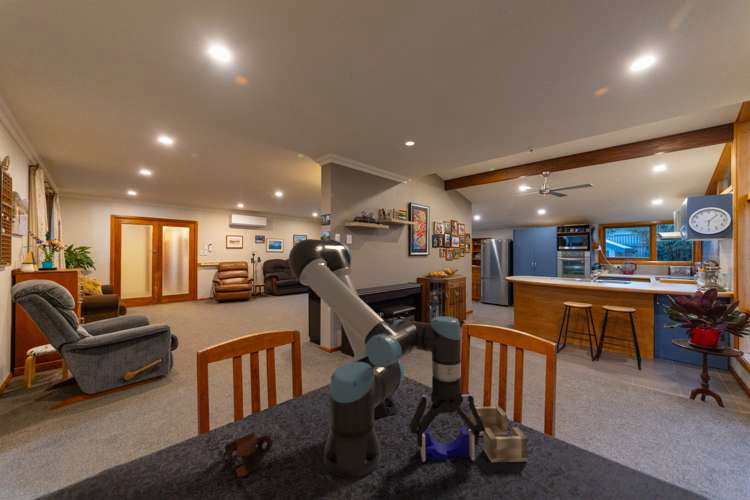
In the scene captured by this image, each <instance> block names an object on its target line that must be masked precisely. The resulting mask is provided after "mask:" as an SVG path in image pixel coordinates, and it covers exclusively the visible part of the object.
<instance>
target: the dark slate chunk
mask: <svg viewBox="0 0 750 500" xmlns="http://www.w3.org/2000/svg"><path fill="white" fill-rule="evenodd" d="M397 409H398V408H397V407H396V404H395V402H394V400H393V396H392V395H390V396H389V397H387V398H386V399H385V400H384V401H382V402H381V403H380V404H379V405H377V406H376V407H375V408H374V418H382V417H388V416H392V415H396V414H397V413H398V410H397Z"/></svg>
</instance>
